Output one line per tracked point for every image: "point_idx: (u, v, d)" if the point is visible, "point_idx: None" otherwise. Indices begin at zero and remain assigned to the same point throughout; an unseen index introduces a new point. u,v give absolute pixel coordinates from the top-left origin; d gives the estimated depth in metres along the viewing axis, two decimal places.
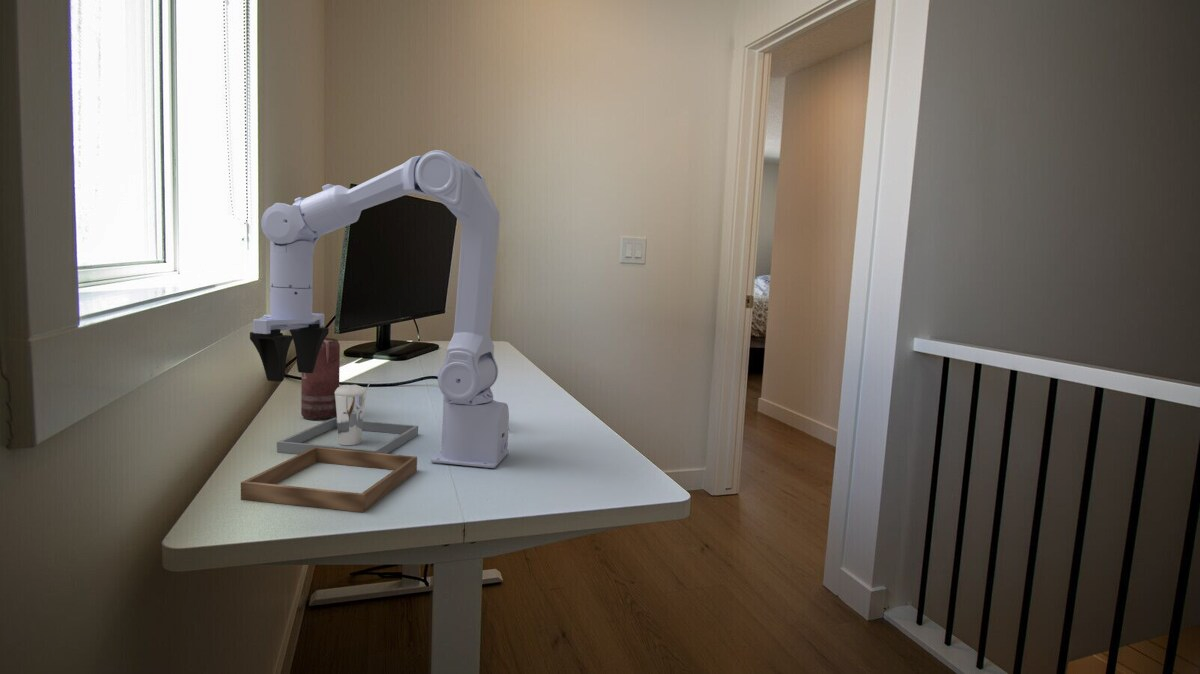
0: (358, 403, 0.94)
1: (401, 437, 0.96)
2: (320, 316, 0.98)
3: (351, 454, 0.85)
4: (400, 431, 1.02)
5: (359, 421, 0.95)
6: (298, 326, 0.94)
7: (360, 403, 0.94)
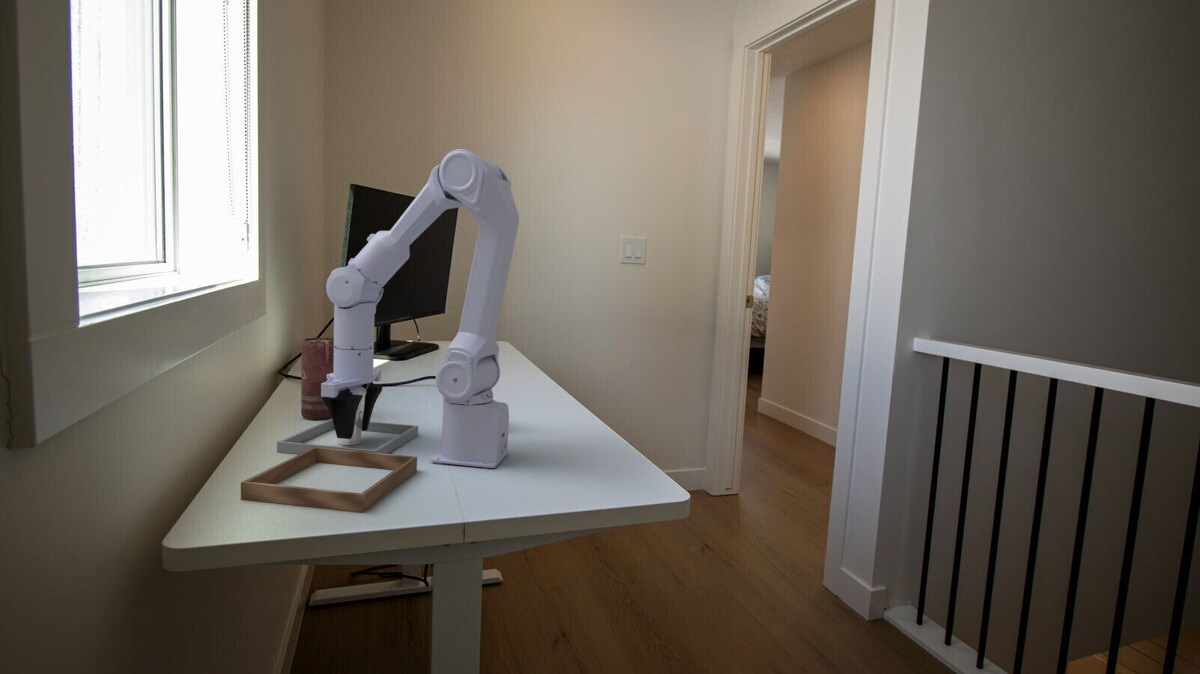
0: None
1: (401, 437, 0.96)
2: (378, 372, 1.00)
3: (351, 454, 0.85)
4: (400, 431, 1.02)
5: (359, 421, 0.95)
6: (359, 384, 0.96)
7: (360, 403, 0.94)
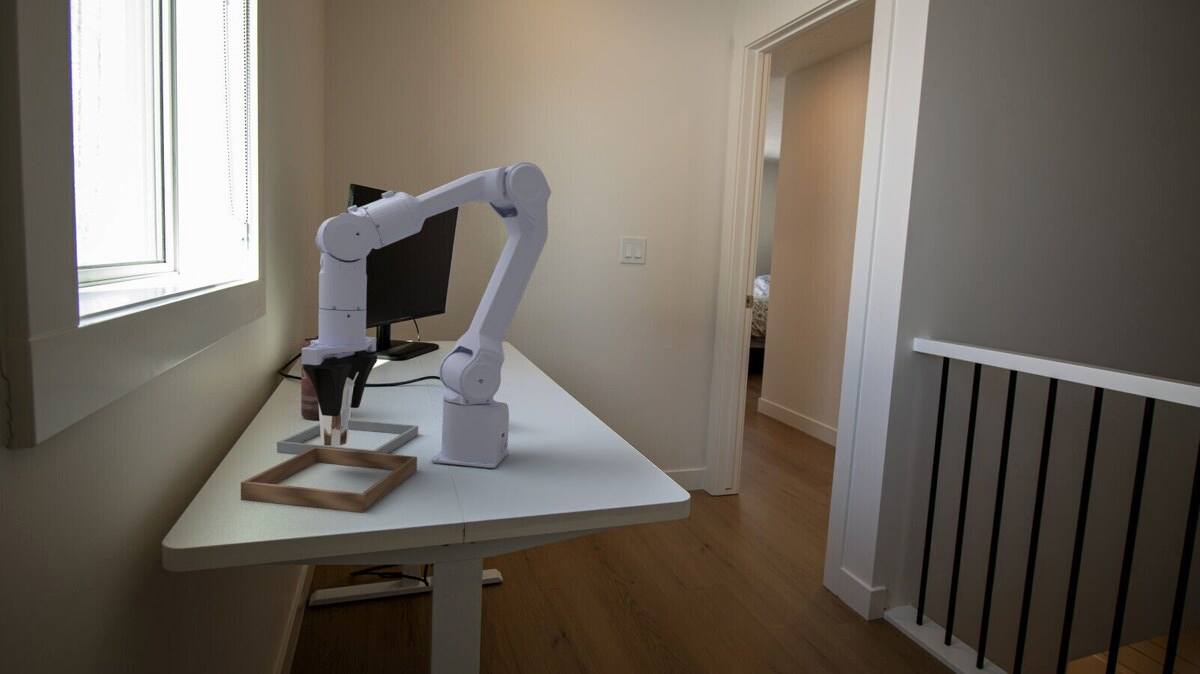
0: None
1: (401, 437, 0.96)
2: (372, 340, 0.86)
3: (351, 454, 0.85)
4: (400, 431, 1.02)
5: (344, 419, 0.81)
6: (349, 353, 0.82)
7: (345, 398, 0.80)
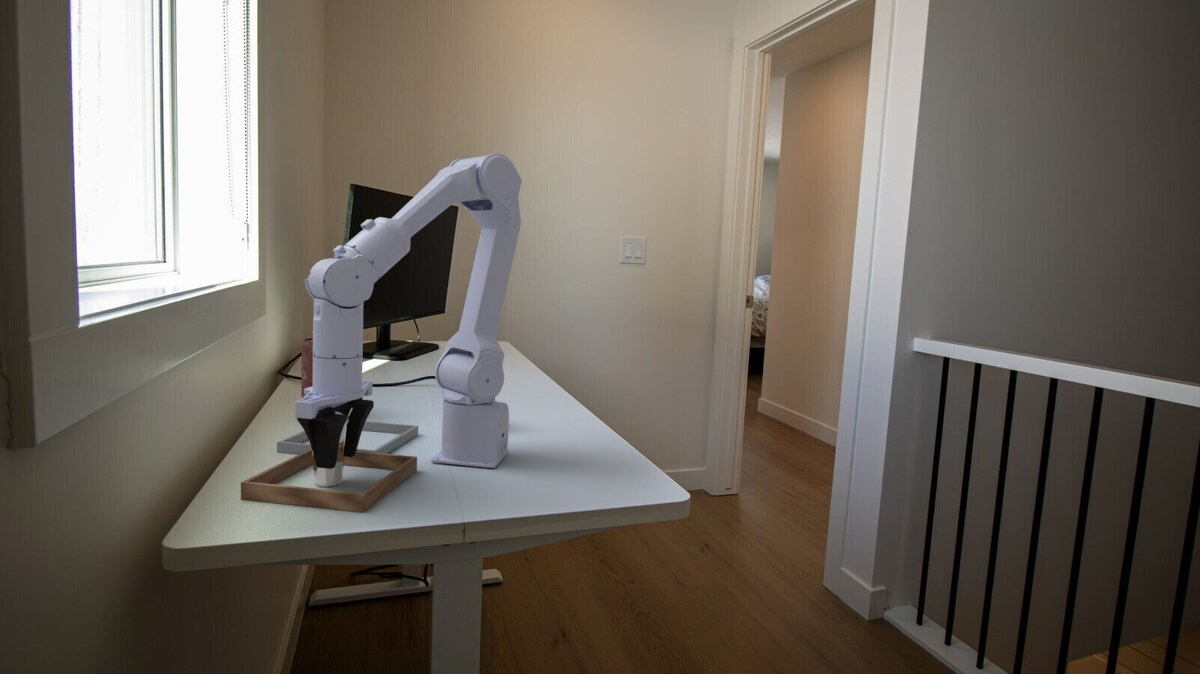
0: None
1: (401, 437, 0.96)
2: (368, 385, 0.83)
3: None
4: (400, 431, 1.02)
5: (338, 457, 0.77)
6: None
7: None
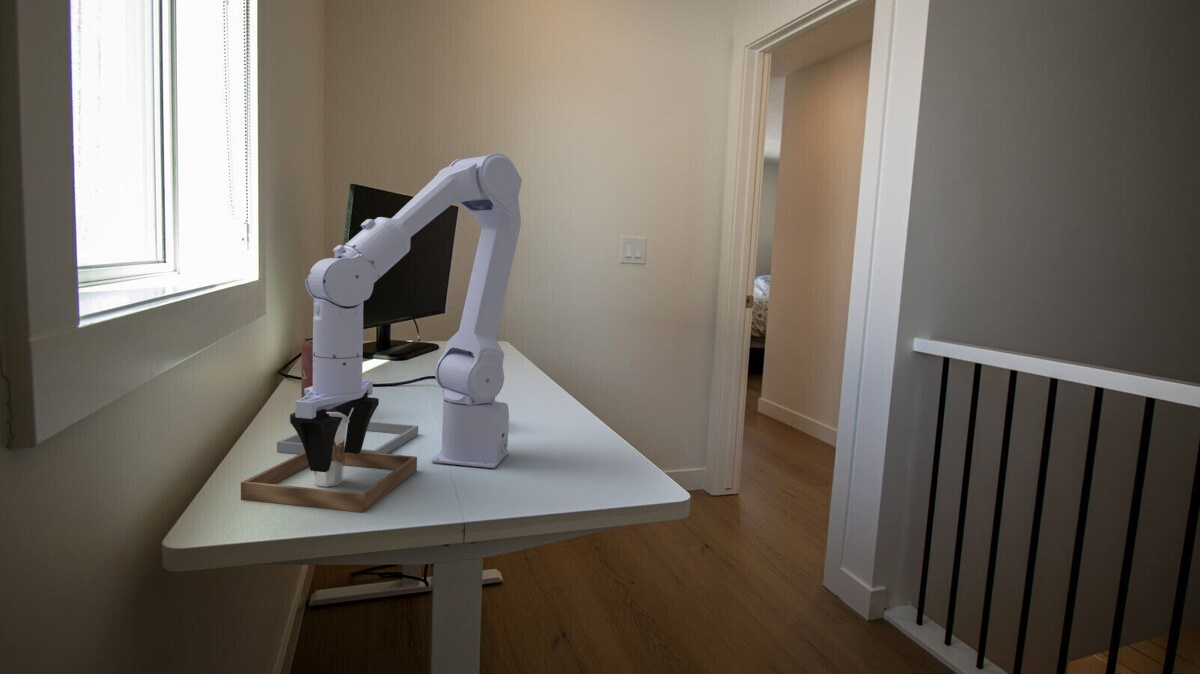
0: (337, 435, 0.76)
1: (401, 437, 0.96)
2: (369, 384, 0.83)
3: (351, 454, 0.85)
4: (400, 431, 1.02)
5: (339, 457, 0.77)
6: (345, 400, 0.78)
7: (339, 436, 0.77)
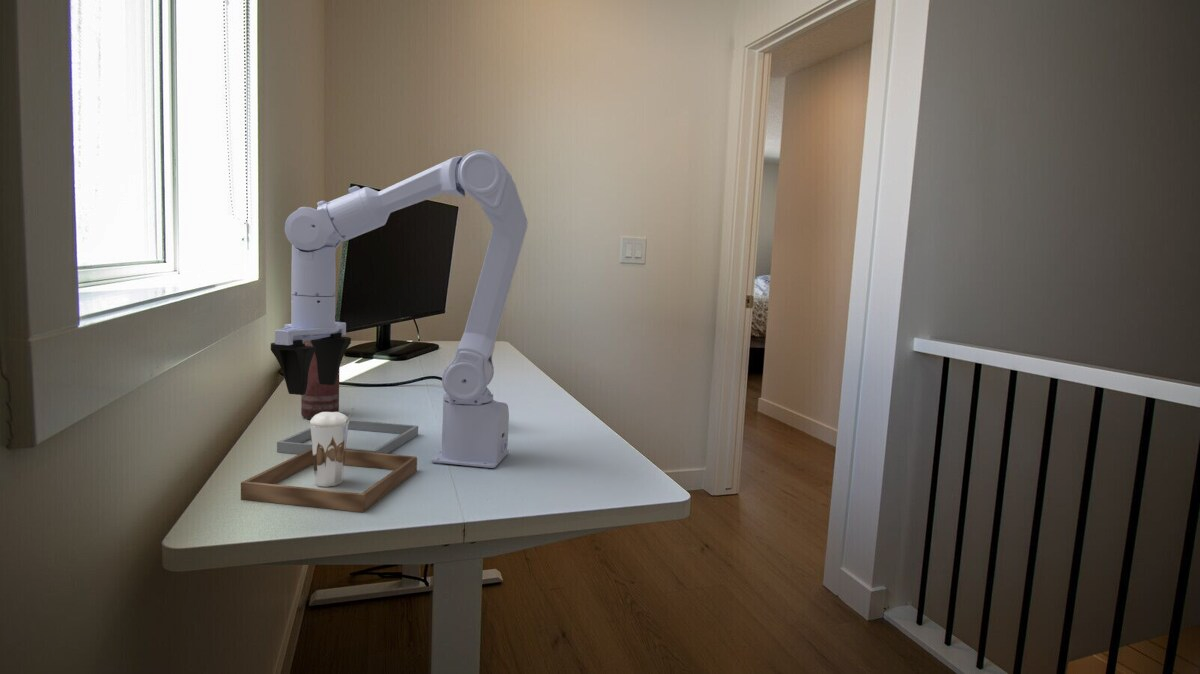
0: (337, 435, 0.76)
1: (401, 437, 0.96)
2: (342, 325, 0.94)
3: (351, 454, 0.85)
4: (400, 431, 1.02)
5: (339, 457, 0.77)
6: (320, 336, 0.89)
7: (339, 435, 0.77)
